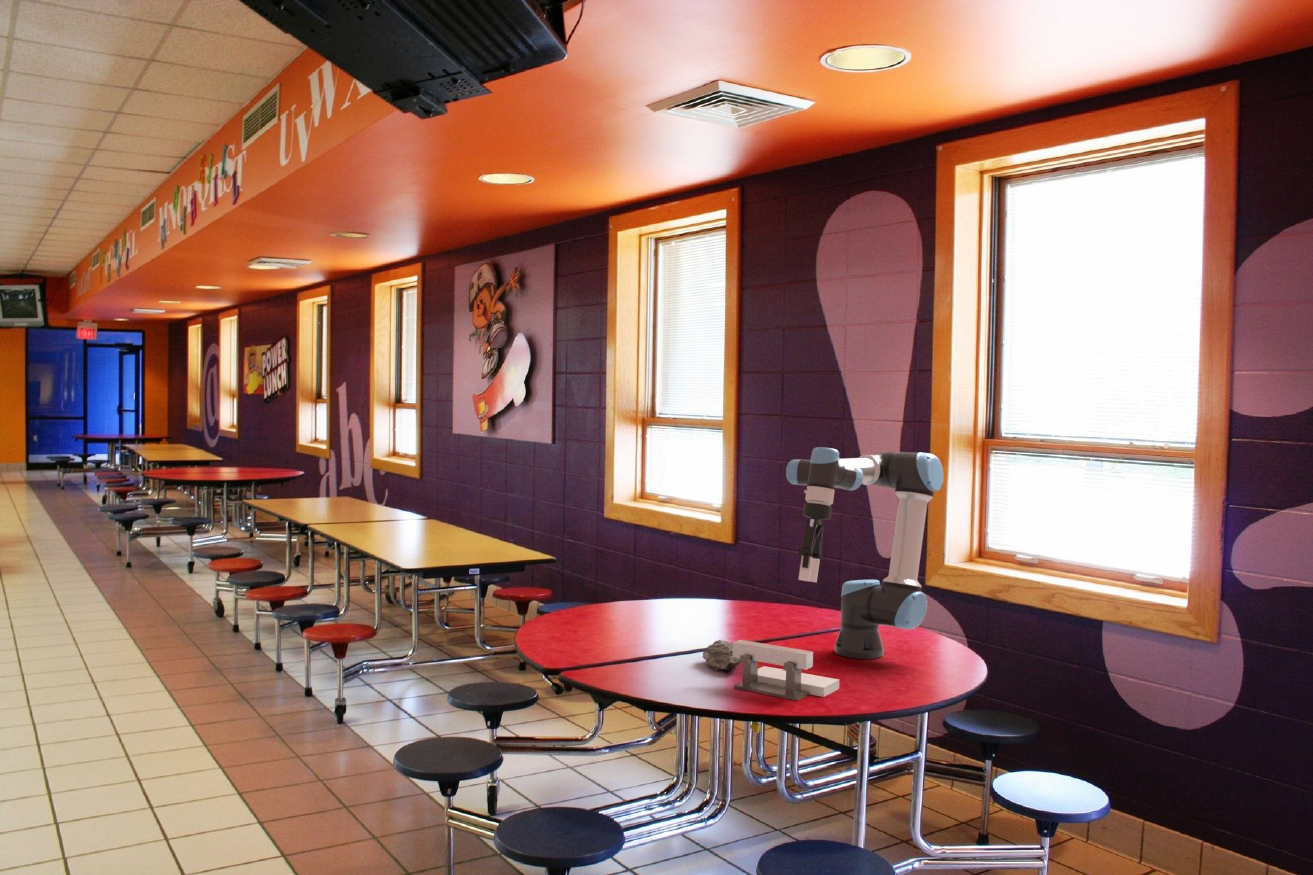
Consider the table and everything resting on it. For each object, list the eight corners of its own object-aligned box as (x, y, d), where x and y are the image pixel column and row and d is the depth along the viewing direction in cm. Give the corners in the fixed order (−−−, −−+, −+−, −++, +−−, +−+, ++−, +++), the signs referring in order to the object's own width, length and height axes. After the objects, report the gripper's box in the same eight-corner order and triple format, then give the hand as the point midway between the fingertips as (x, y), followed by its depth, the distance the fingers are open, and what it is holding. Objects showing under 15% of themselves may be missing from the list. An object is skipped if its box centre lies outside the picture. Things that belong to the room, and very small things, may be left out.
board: (764, 674, 276) (764, 666, 276) (839, 688, 263) (839, 679, 263) (747, 682, 268) (747, 673, 268) (823, 696, 255) (824, 687, 255)
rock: (691, 654, 288) (710, 627, 291) (711, 673, 291) (730, 646, 294) (722, 669, 272) (742, 641, 274) (743, 689, 275) (763, 660, 278)
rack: (746, 682, 267) (747, 649, 267) (809, 694, 256) (810, 660, 256) (733, 687, 261) (734, 654, 261) (797, 700, 251) (798, 665, 251)
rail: (739, 653, 267) (739, 639, 267) (812, 666, 254) (813, 651, 254) (732, 656, 263) (732, 642, 263) (806, 669, 251) (806, 654, 251)
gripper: (811, 506, 277) (801, 580, 274) (797, 497, 254) (785, 577, 251) (838, 509, 275) (827, 584, 272) (825, 500, 251) (814, 582, 249)
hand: (807, 581), depth 262 cm, fingers open, 13 cm apart
